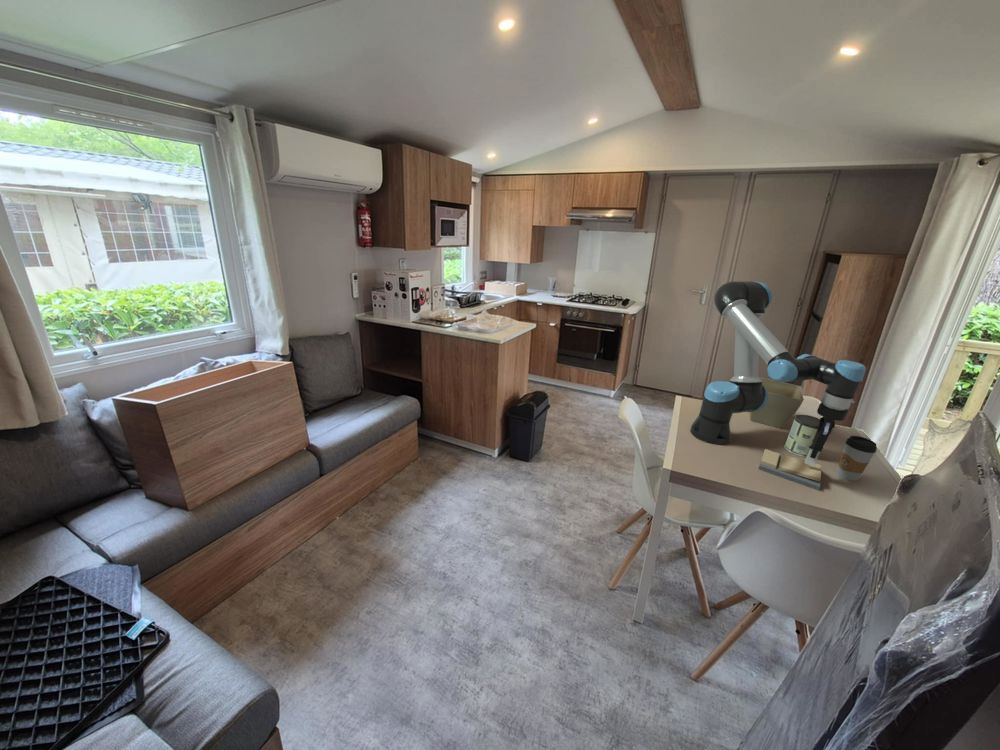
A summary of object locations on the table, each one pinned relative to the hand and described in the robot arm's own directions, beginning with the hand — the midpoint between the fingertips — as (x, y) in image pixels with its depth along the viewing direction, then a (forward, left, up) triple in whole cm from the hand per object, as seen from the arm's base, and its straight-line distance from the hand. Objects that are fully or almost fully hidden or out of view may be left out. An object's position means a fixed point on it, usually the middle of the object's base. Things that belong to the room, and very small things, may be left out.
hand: (809, 463), depth 140 cm
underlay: (-5, 0, -5) cm, 7 cm away
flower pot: (-17, +43, -5) cm, 46 cm away
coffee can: (-3, +20, -5) cm, 21 cm away
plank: (-2, 0, -3) cm, 4 cm away
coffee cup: (+12, +11, -5) cm, 17 cm away
